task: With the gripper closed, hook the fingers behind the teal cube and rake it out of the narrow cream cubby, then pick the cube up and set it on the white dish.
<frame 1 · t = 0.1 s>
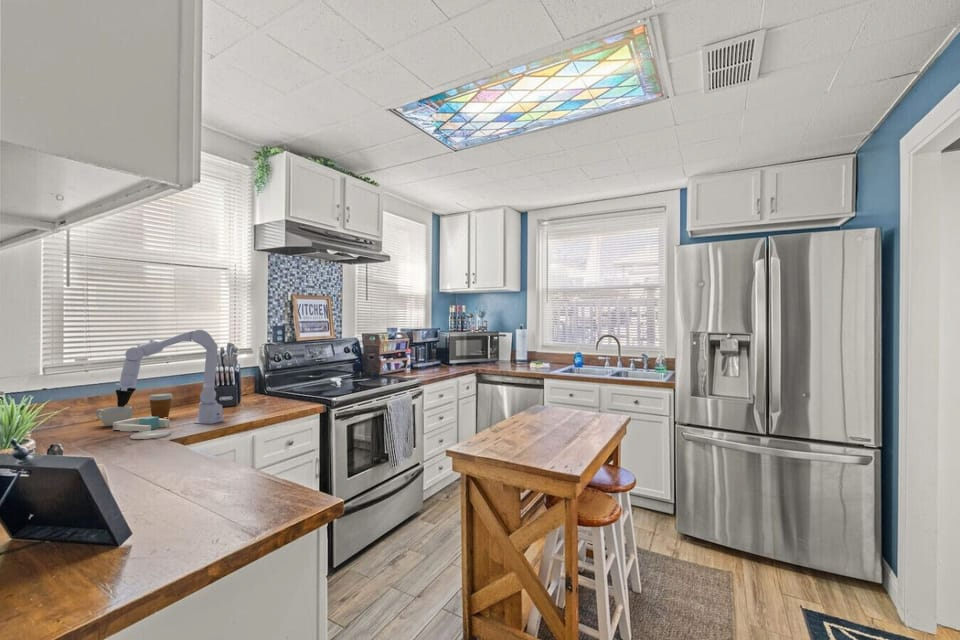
hand: (122, 405, 184), 10 cm above the worktop, tool pointing down, fingers open, 7 cm apart
dish: (150, 436, 173), on the worktop
teacup: (113, 426, 192), on the worktop
cubby: (141, 428, 186), on the worktop
cube: (148, 429, 185), resting in cubby
disposable coffee cup: (160, 419, 206), on the worktop
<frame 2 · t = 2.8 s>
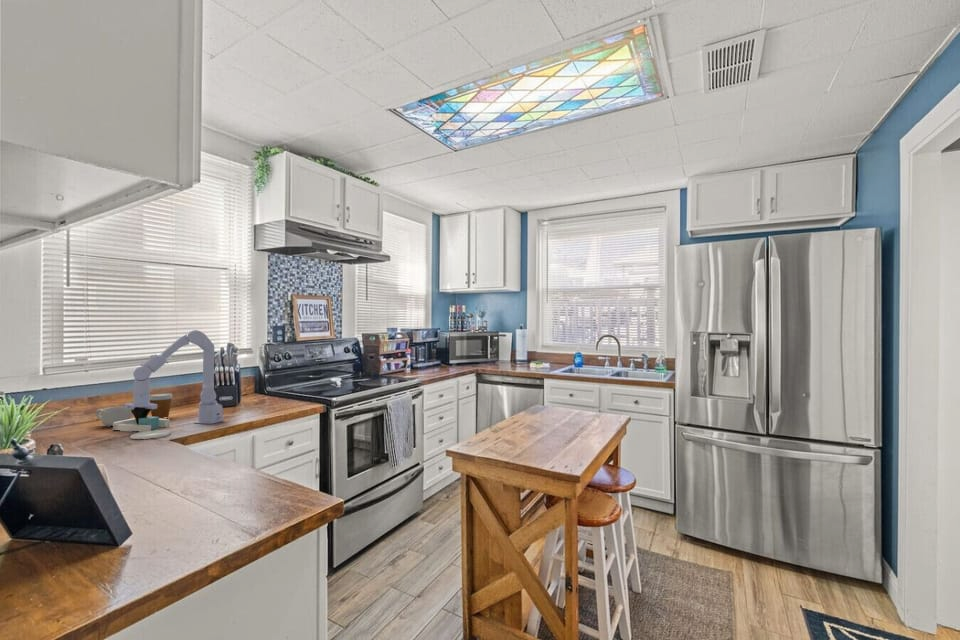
hand: (140, 424, 186), 2 cm above the worktop, tool pointing down, fingers closed
cube: (148, 429, 185), resting in cubby, touching gripper
everything else where it was.
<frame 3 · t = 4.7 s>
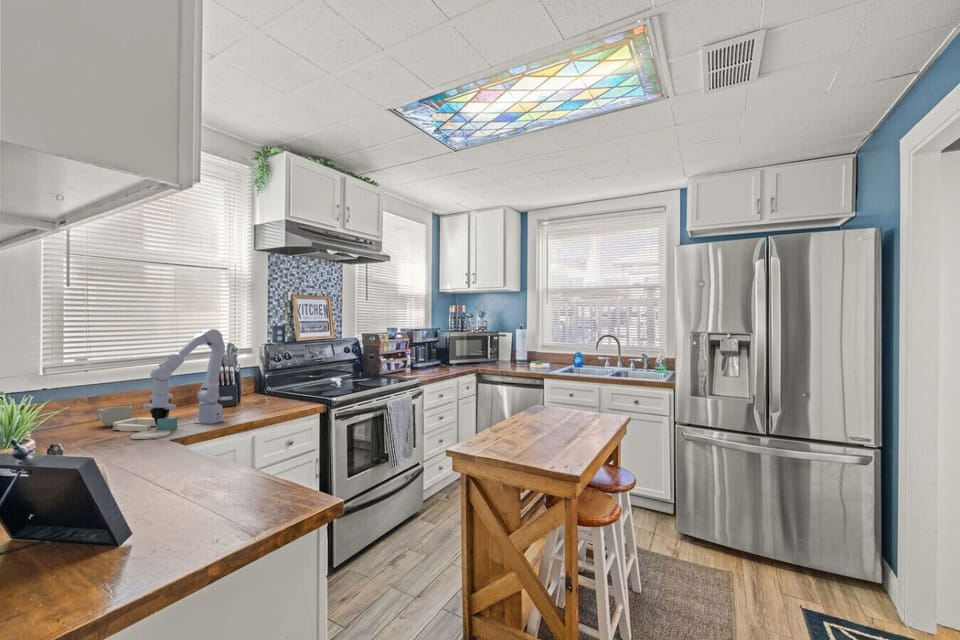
hand: (159, 425, 185), 2 cm above the worktop, tool pointing down, fingers closed
cube: (167, 429, 184), on the worktop, touching gripper
everything else where it was.
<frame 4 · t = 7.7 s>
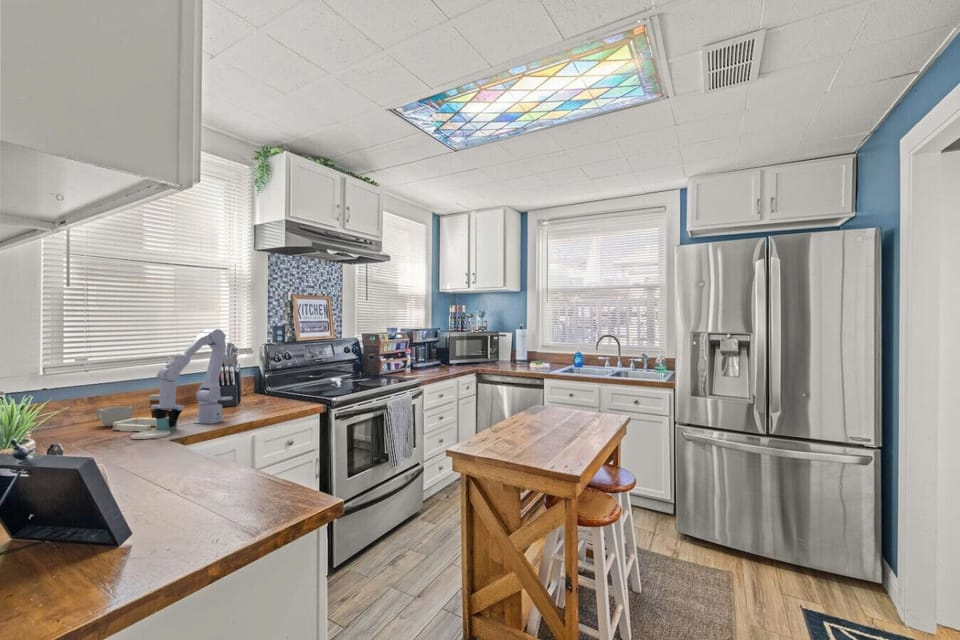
hand: (166, 426, 184), 1 cm above the worktop, tool pointing down, fingers closed on cube, 5 cm apart
cube: (166, 429, 184), on the worktop, touching gripper
everything else where it was.
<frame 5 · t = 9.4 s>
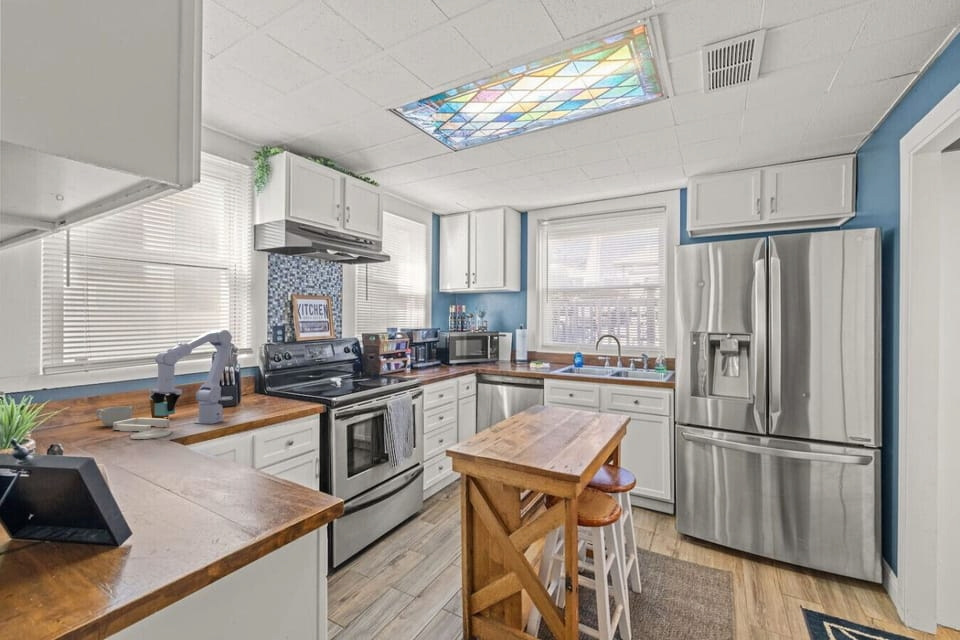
hand: (165, 410, 183), 8 cm above the worktop, tool pointing down, fingers closed on cube, 5 cm apart
cube: (164, 414, 183), point 7 cm above the worktop, touching gripper
everything else where it was.
when the fingers open (4 cm above the worktop, at t = 11.3 s): cube drops 1 cm, resting on dish.
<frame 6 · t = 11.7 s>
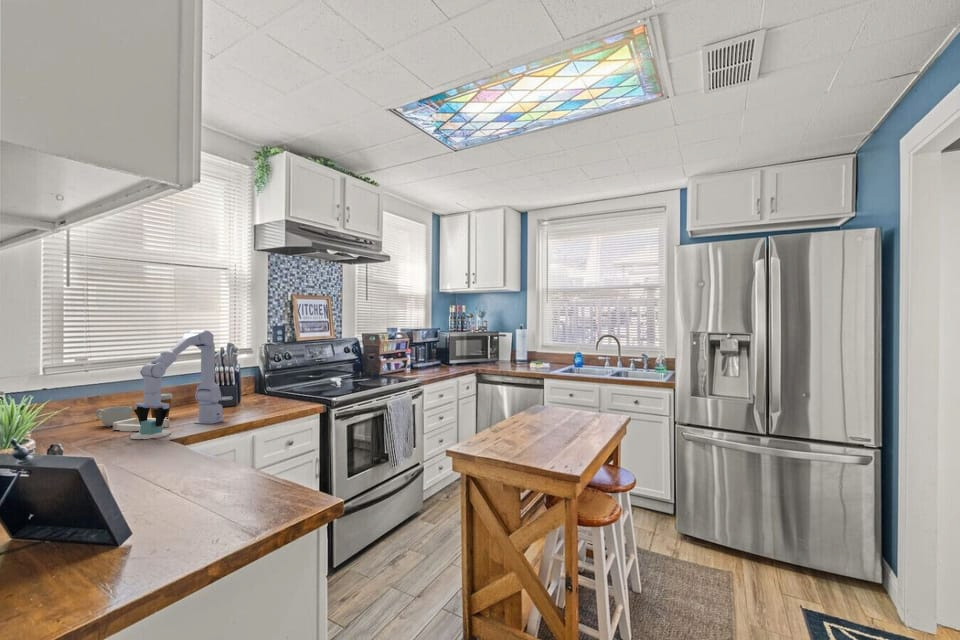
hand: (151, 425, 174), 4 cm above the worktop, tool pointing down, fingers open, 7 cm apart
cube: (151, 432, 174), point 1 cm above the worktop, touching dish
everything else where it was.
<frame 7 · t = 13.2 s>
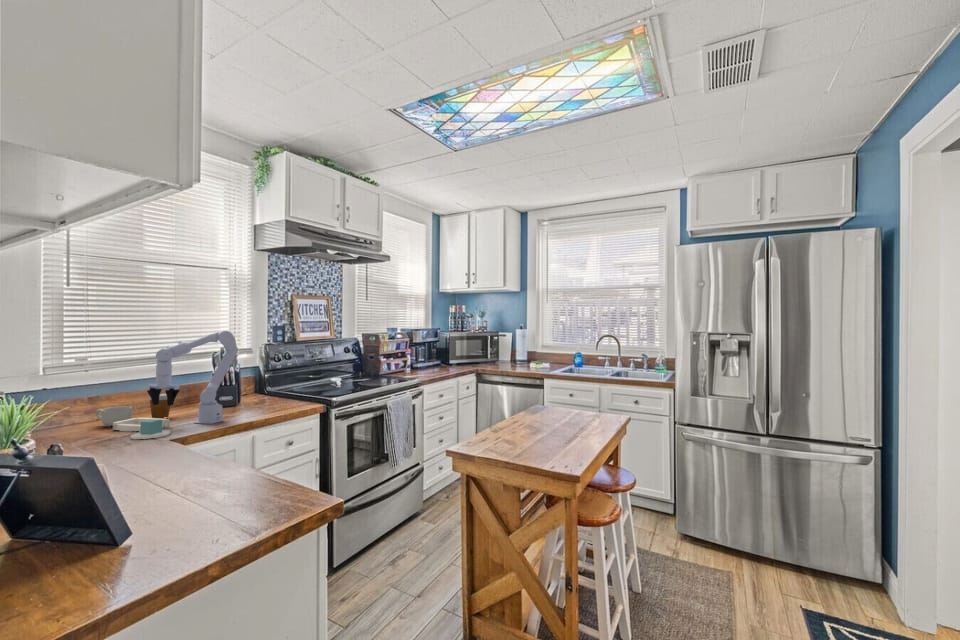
hand: (163, 405, 192), 9 cm above the worktop, tool pointing down, fingers open, 7 cm apart
nothing on the worktop moved.
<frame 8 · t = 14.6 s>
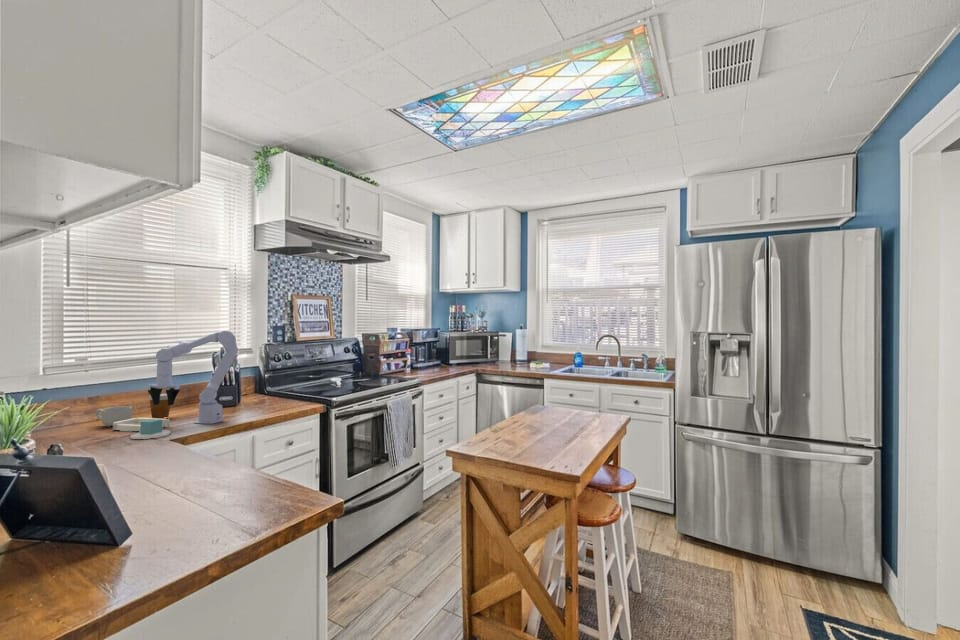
hand: (163, 404, 193), 9 cm above the worktop, tool pointing down, fingers open, 7 cm apart
nothing on the worktop moved.
at the end: cube inside the target area on the dish (1.4 cm from its centre), point 1.0 cm above the dish's base; cube tilted 0°; the gripper is holding nothing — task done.
